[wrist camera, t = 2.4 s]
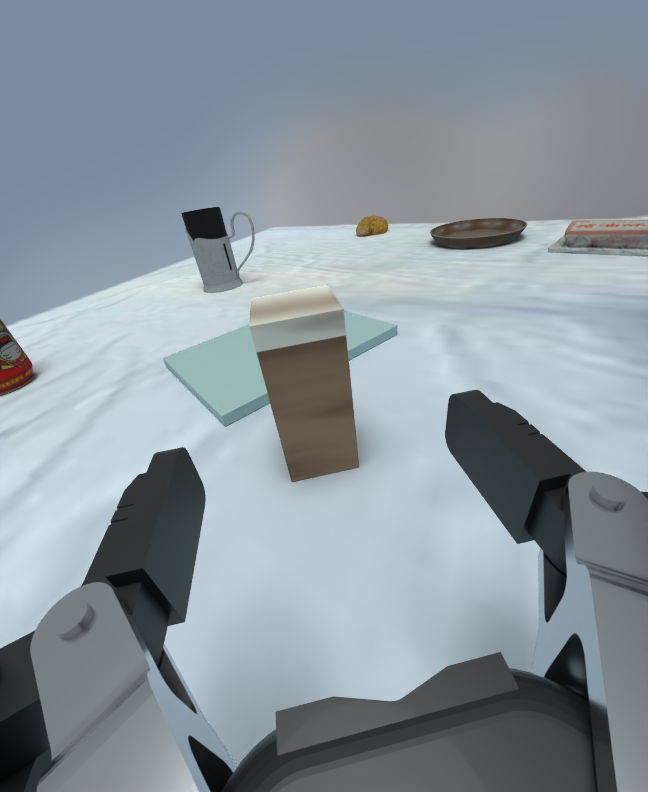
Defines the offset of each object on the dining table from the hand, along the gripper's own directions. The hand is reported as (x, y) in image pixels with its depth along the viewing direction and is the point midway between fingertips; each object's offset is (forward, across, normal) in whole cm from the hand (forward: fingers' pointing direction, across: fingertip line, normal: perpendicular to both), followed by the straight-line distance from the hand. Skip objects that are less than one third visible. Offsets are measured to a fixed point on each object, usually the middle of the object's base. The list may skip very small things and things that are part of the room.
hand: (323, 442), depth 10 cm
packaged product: (+48, -60, +10) cm, 78 cm away
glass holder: (+69, +10, +10) cm, 71 cm away
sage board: (+31, +2, +11) cm, 33 cm away
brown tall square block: (+12, 0, +11) cm, 16 cm away
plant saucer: (+71, -48, +10) cm, 87 cm away
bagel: (+105, -32, +10) cm, 110 cm away
